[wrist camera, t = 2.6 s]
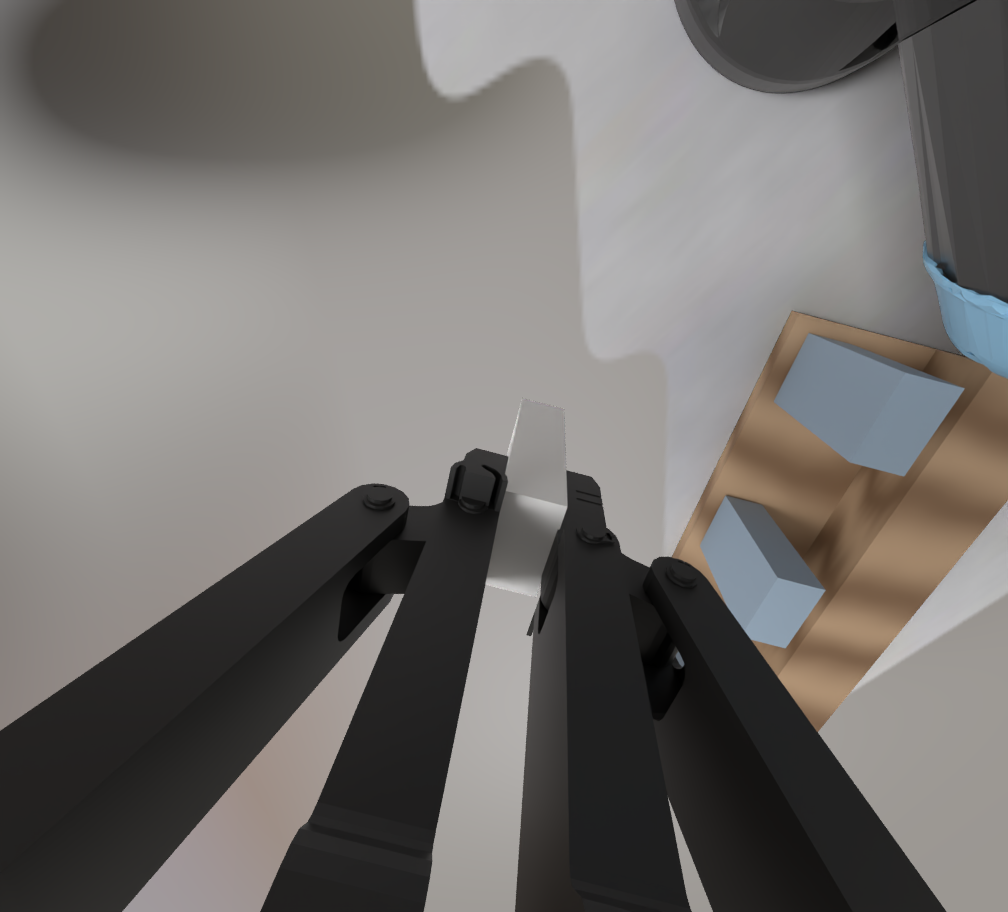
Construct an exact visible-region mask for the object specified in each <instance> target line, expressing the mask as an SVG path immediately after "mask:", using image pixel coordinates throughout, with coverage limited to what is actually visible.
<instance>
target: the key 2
mask: <svg viewBox="0 0 1008 912" xmlns="http://www.w3.org/2000/svg"><path fill="white" fill-rule="evenodd" d="M964 389H965V388H963V387H960V386H957V385H955V384H952V383H950V382H947V381H945V380H942V379H939V378H937V377H934V376H932V375H929V374H927V373H924V372H921V371H919V370H916V369H914V368H911V367H909V366H906V365H903V364H901V363H898V362H896V361H893V360H891V359H888V358H886V357H883V356H880V355H878V354H875V353H873V352H870V351H868V350H865V349H862V348H860V347H857V346H855V345H852V344H848V343H845V342H841V341H837V340H833V339H830V338H826V337H822V336H818V335H814V334H811V333H808V335H807V337H806V339H805V341H804V343H803V345H802V347H801V349H800V351H799V353H798V355H797V357H796V359H795V361H794V363H793V365H792V367H791V368H790V370H789V372H788V374H787V376H786V378H785V380H784V382H783V384H782V386H781V388H780V390H779V392H778V394H777V396H776V398H775V400H774V403H776V404H777V405H778V406H779V407H781V408H782V409H783V410H785V411H786V412H787V413H788V414H790V415H791V416H792V417H793V418H795V419H796V420H797V421H798V422H800V423H801V424H802V425H803V426H805V427H806V428H807V429H808V430H810V431H811V432H812V433H813V434H815V435H816V436H817V437H818V438H820V439H821V440H822V441H823V442H825V443H826V444H827V445H828V446H830V447H831V448H832V449H833V450H835V451H836V452H837V453H839V454H840V455H841V456H842V457H844V458H845V459H846V460H847V461H849V462H850V463H854V464H858V465H862V466H865V467H869V468H873V469H877V470H881V471H885V472H888V473H892V474H896V475H900V476H905V475H906V473H907V472H908V470H909V469H910V467H911V466H912V465H913V463H914V462H915V460H916V459H917V457H918V456H919V454H920V453H921V451H922V450H923V449H924V447H925V446H926V444H927V443H928V441H929V440H930V438H931V437H932V436H933V434H934V433H935V431H936V430H937V428H938V427H939V425H940V424H941V423H942V421H943V420H944V418H945V417H946V415H947V414H948V412H949V411H950V409H951V408H952V407H953V405H954V404H955V402H956V401H957V399H958V398H959V396H960V395H961V394H962V392H963V391H964Z"/></svg>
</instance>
